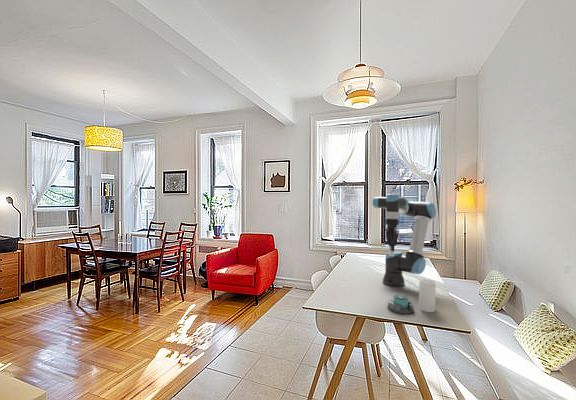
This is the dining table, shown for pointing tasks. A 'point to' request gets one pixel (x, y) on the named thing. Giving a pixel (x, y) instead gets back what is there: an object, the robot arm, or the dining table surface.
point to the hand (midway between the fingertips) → (391, 255)
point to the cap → (401, 301)
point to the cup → (427, 295)
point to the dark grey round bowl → (397, 308)
